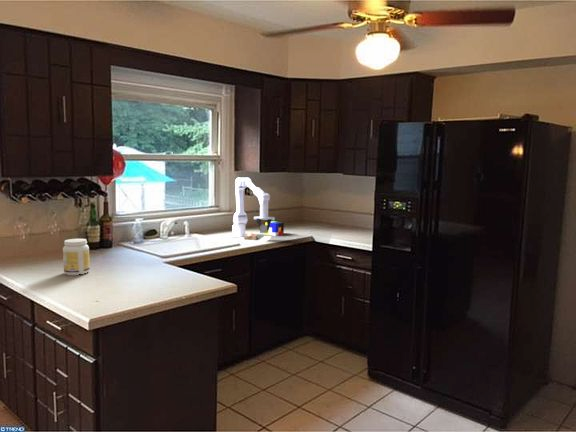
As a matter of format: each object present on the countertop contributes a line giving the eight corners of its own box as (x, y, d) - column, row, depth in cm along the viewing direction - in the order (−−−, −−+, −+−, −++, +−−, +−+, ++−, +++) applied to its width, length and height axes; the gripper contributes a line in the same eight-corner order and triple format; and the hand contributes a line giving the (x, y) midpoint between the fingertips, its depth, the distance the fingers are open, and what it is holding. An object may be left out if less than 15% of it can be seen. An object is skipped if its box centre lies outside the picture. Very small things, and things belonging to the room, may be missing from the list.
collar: (244, 240, 335) (244, 235, 335) (246, 238, 343) (246, 234, 343) (255, 240, 334) (255, 236, 334) (257, 238, 342) (257, 234, 341)
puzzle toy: (275, 237, 350) (275, 223, 349) (265, 235, 356) (265, 222, 355) (283, 235, 358) (283, 222, 357) (273, 233, 364) (273, 221, 363)
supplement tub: (83, 268, 247) (81, 237, 245) (94, 272, 239) (93, 240, 237) (59, 273, 238) (57, 240, 236) (70, 277, 230) (68, 243, 228)
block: (260, 232, 330) (260, 225, 329) (261, 231, 334) (261, 224, 334) (267, 232, 329) (267, 225, 328) (268, 231, 334) (268, 224, 333)
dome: (246, 239, 336) (246, 233, 336) (248, 238, 341) (248, 232, 341) (253, 239, 336) (253, 233, 335) (255, 238, 341) (255, 232, 340)
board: (257, 241, 329) (257, 240, 329) (263, 237, 349) (263, 236, 349) (268, 242, 328) (268, 241, 328) (273, 237, 348) (273, 236, 348)
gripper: (252, 211, 326) (252, 230, 328) (273, 211, 324) (273, 231, 326) (254, 210, 333) (254, 228, 335) (275, 210, 331) (274, 229, 333)
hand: (264, 229), depth 331 cm, fingers closed on block, 5 cm apart
